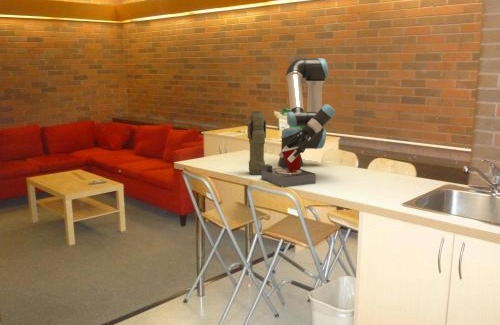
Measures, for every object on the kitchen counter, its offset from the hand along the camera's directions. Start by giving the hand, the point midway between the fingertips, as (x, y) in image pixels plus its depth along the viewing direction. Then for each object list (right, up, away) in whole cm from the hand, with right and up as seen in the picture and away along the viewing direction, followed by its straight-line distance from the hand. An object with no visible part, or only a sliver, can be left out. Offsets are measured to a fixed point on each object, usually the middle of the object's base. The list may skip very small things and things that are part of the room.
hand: (284, 158), depth 255 cm
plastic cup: (+5, -6, -1) cm, 8 cm away
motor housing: (+2, -12, +3) cm, 12 cm away
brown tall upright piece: (-14, -8, +21) cm, 27 cm away
